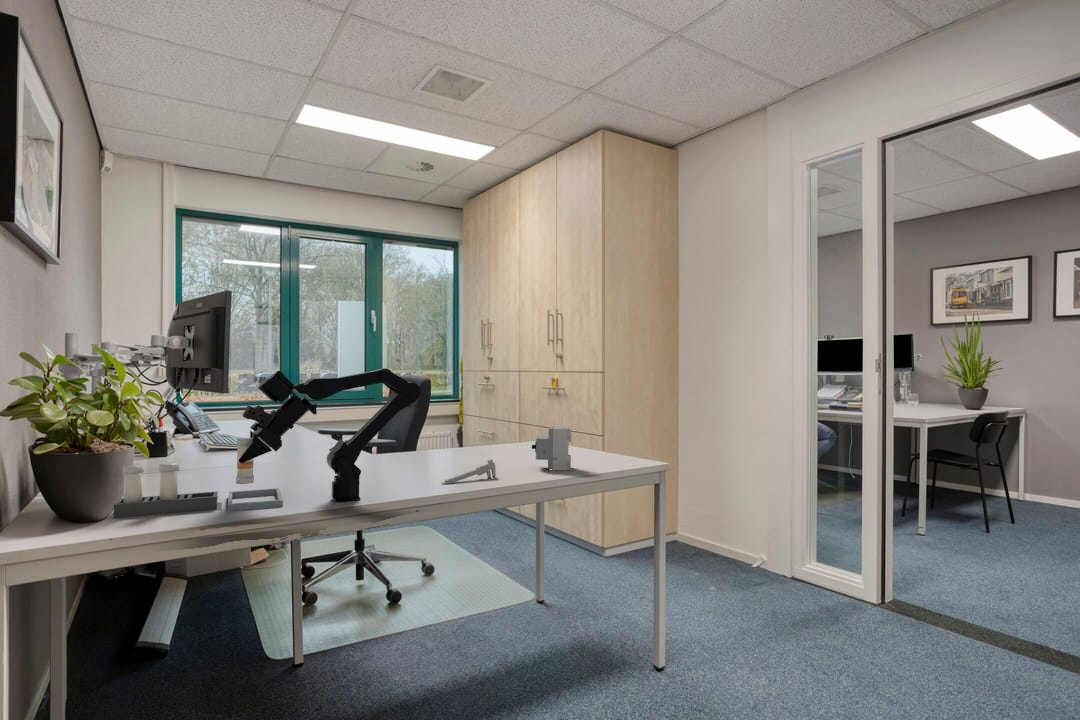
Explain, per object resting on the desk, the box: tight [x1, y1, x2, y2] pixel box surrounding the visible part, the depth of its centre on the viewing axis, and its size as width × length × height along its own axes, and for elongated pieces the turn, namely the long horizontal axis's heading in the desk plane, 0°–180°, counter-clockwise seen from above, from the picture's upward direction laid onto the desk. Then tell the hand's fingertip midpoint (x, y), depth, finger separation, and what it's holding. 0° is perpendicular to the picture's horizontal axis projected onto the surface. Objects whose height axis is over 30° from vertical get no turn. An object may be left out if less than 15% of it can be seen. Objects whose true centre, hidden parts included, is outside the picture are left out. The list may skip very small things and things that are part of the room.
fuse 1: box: [122, 463, 145, 503], centre depth 133 cm, size 4×4×11 cm
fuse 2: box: [158, 462, 180, 500], centre depth 136 cm, size 4×4×11 cm
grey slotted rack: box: [106, 491, 223, 521], centre depth 136 cm, size 22×8×4 cm, turn 118°
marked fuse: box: [235, 437, 255, 485], centre depth 145 cm, size 4×4×11 cm
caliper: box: [441, 459, 497, 485], centre depth 186 cm, size 20×1×6 cm, turn 132°
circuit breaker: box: [531, 425, 572, 471], centre depth 210 cm, size 8×14×15 cm, turn 88°
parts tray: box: [227, 487, 284, 512], centre depth 146 cm, size 12×15×3 cm
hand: (239, 460), depth 144 cm, fingers closed on marked fuse, 4 cm apart
